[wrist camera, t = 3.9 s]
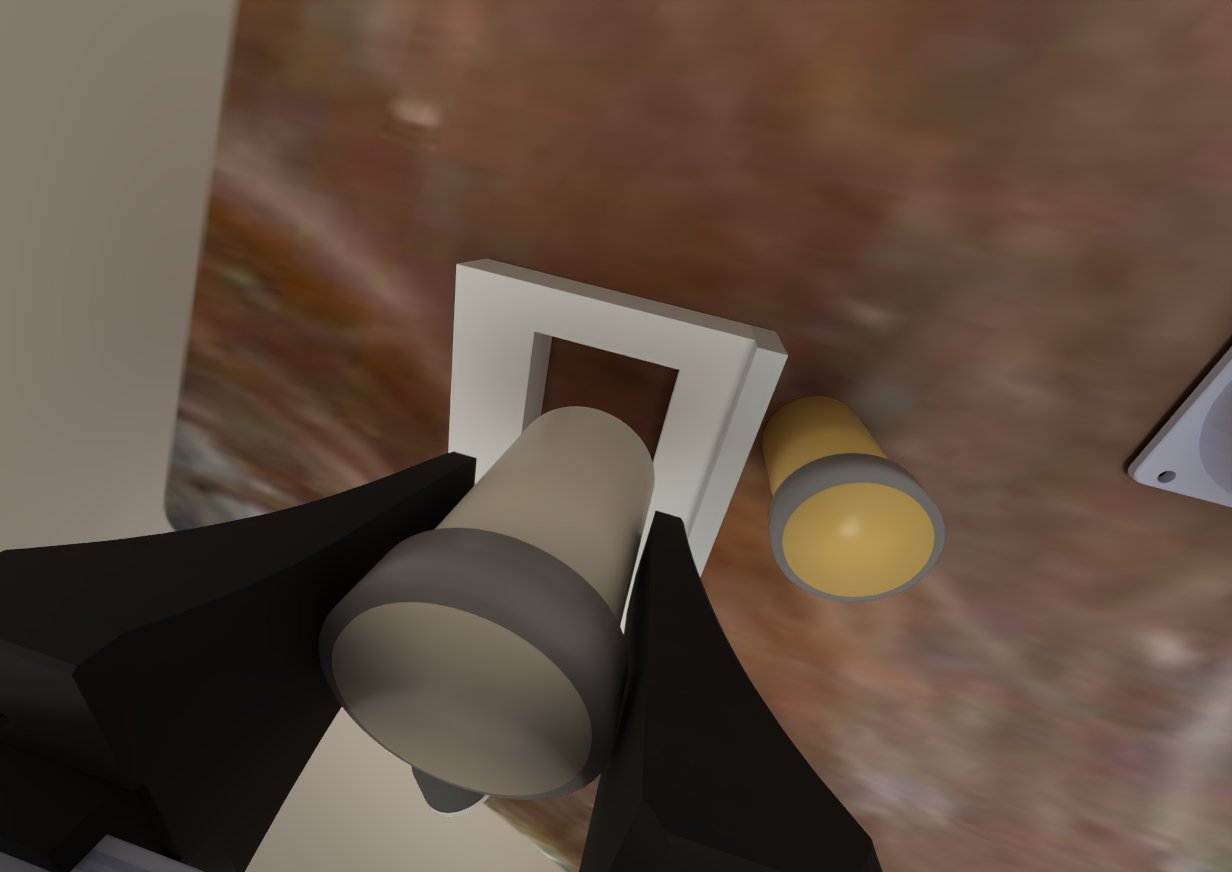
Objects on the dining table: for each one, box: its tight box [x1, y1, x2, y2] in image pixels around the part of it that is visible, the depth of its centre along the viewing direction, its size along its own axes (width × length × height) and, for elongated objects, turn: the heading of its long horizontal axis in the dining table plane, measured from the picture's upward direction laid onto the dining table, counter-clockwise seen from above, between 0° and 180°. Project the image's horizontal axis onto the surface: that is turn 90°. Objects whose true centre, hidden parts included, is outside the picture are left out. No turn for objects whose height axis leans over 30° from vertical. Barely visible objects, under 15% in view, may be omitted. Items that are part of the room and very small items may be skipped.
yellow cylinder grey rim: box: [762, 396, 945, 602], centre depth 16 cm, size 5×5×7 cm
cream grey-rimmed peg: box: [319, 406, 655, 800], centre depth 10 cm, size 5×5×7 cm
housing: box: [448, 259, 788, 634], centre depth 20 cm, size 12×16×4 cm
